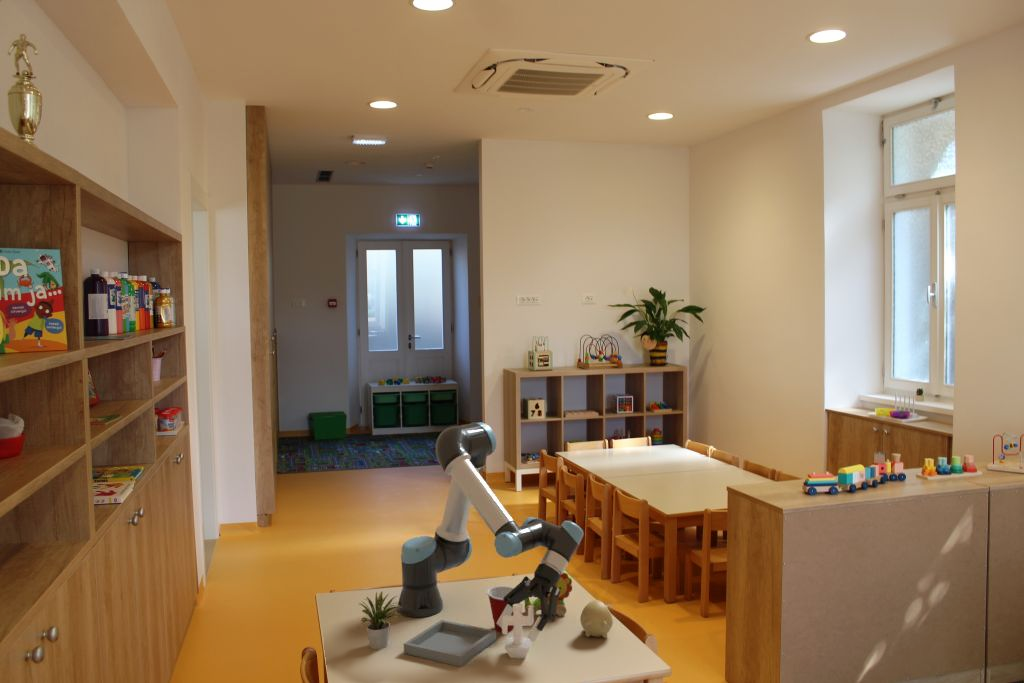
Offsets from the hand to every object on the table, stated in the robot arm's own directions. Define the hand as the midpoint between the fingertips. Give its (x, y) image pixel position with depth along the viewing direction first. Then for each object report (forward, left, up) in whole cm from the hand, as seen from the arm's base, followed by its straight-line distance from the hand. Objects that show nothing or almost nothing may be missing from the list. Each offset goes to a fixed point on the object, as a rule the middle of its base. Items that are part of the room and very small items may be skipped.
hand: (514, 632), depth 235 cm
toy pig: (+15, +24, -7) cm, 30 cm away
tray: (-21, -3, -7) cm, 22 cm away
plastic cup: (-13, +16, -7) cm, 22 cm away
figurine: (0, +1, -7) cm, 8 cm away
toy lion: (-6, +33, -7) cm, 35 cm away
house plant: (-41, -13, -7) cm, 43 cm away
